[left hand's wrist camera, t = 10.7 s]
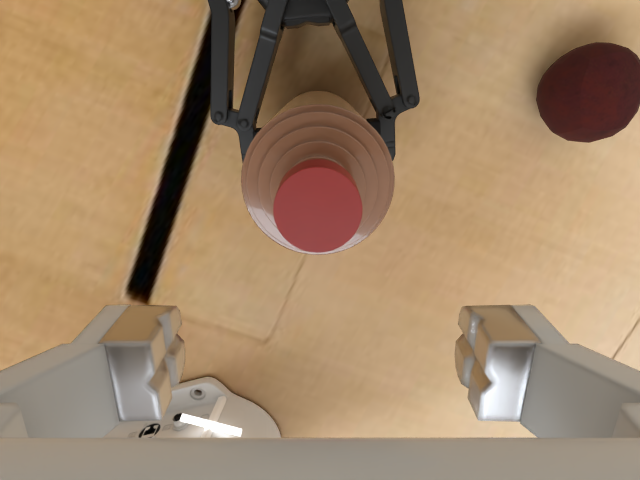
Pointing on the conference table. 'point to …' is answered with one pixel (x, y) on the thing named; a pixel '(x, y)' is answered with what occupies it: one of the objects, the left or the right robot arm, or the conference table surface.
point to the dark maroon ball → (590, 92)
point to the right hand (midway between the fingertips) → (322, 205)
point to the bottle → (317, 143)
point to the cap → (317, 206)
